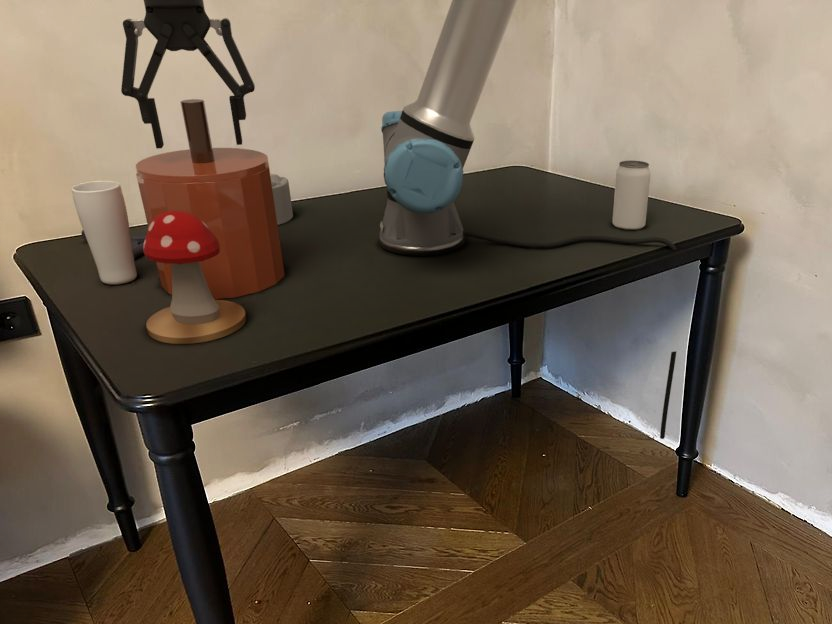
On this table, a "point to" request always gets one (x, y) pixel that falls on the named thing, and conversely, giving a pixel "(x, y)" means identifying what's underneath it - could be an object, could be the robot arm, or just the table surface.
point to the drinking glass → (106, 229)
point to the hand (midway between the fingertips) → (200, 144)
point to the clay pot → (218, 206)
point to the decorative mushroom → (184, 263)
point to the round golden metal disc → (196, 325)
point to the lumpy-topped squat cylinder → (282, 198)
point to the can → (631, 195)
